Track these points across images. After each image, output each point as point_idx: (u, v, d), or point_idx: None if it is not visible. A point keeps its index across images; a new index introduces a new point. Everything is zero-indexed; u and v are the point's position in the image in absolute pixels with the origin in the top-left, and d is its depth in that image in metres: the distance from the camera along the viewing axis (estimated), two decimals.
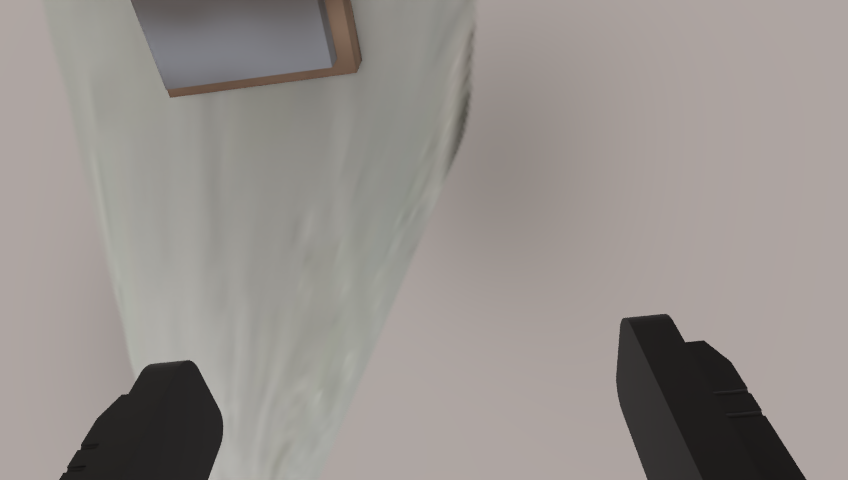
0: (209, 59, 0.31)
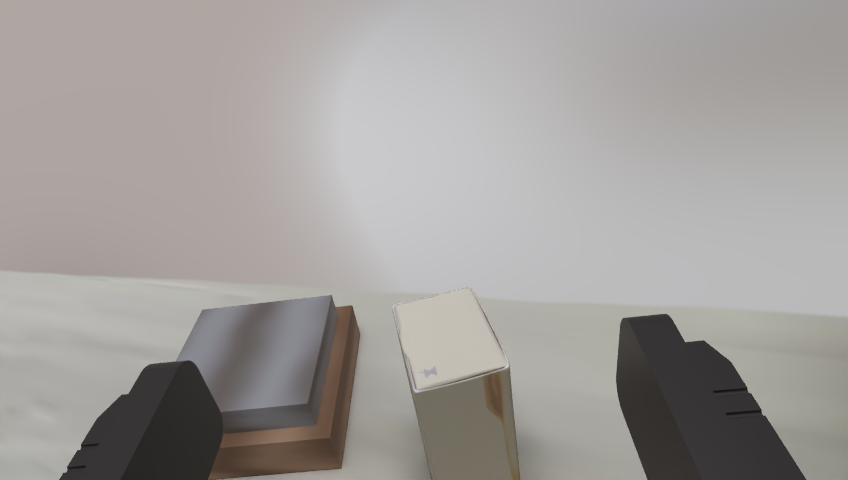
0: (205, 337, 0.38)
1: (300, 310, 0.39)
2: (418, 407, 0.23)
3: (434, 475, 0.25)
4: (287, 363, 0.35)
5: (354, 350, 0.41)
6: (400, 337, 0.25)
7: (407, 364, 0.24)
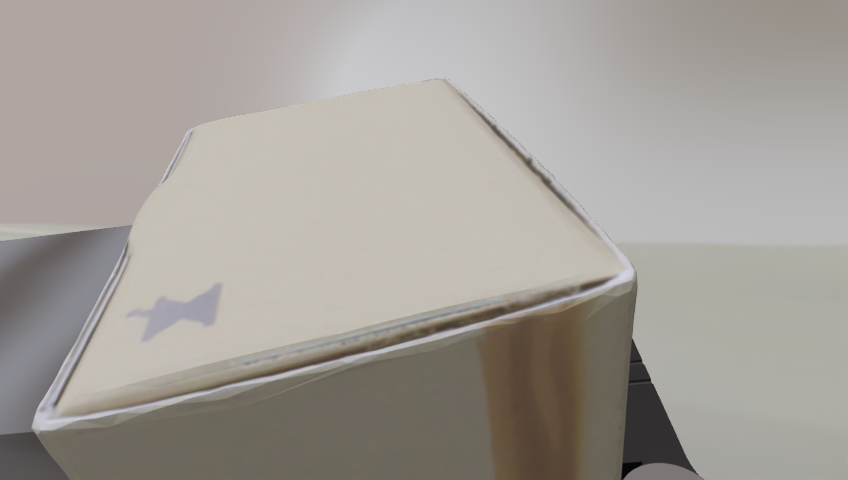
0: None
1: None
2: None
3: None
4: (56, 338, 0.16)
5: None
6: (153, 194, 0.06)
7: (112, 282, 0.05)
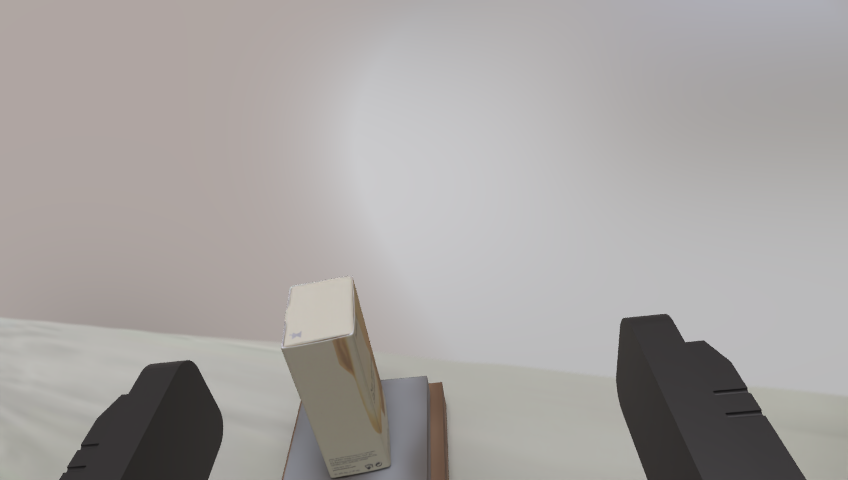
0: None
1: (400, 391, 0.42)
2: (286, 360, 0.31)
3: (307, 415, 0.33)
4: (399, 449, 0.38)
5: (445, 425, 0.44)
6: (286, 310, 0.33)
7: (284, 329, 0.32)
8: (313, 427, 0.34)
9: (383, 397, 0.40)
